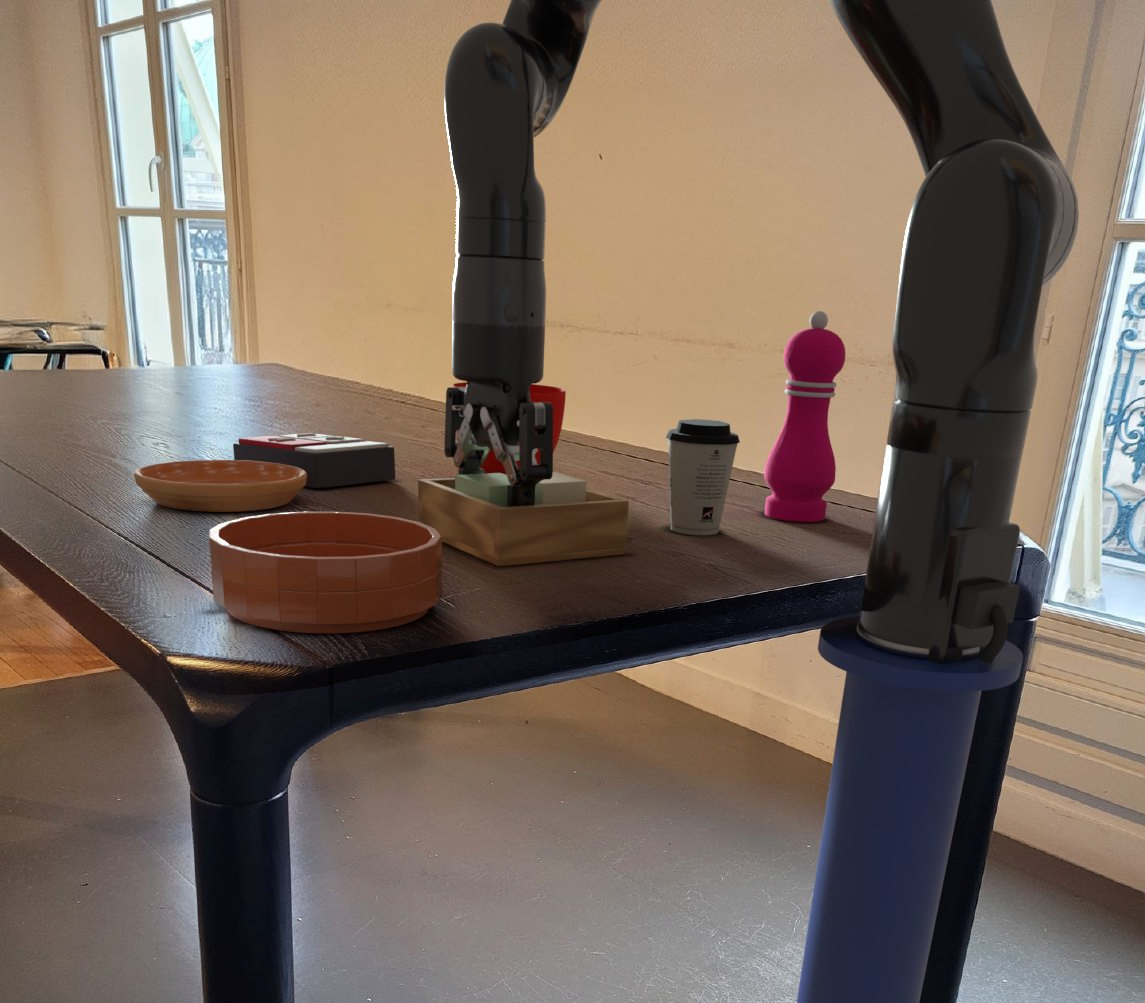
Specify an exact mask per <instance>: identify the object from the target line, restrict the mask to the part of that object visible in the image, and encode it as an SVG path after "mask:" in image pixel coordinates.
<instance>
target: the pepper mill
mask: <svg viewBox="0 0 1145 1003" xmlns="http://www.w3.org/2000/svg"><path fill="white" fill-rule="evenodd" d="M828 323H829V318H828V315H827V314H826V313H825V312H824V311H821V310H818V311H815V312H813V313H812V314H811V315H810V317H809V325H810V327H809V328H805V329H801V330H800V331H797V332H795V333H794V334H793V335H792V336H791V337H790V338H789V339H788V341H787V343H786V345H785V348H784V351H783V365H784V368H785V369H786V371H787V373H788V374H789V378H788V379H786V380H785V384H786V386H785V390H784V394H786V395H787V408H786V414H785V419H784V422H783V425H782V428H781V431H780V432H779V434H778V436H777V438H776V440H775V442H774V444H773V447H772V448H771V450H770V451H769V454H768V457H767V459H766V462H765V468H764V472H763V473H764V474H763V475H764V476H763V477H764V481H765V483H766V485H767V486H768V487H769V489H770V491H771V493H772V494H771V495H768V496H767V497H766V498H765V506H764V515H765V516H766V517H768V518H770V519H774V520H778V521H784V522H785V521H786V522H792V523H818V522H822V521H824V520H825V519H826V515H827V514H826V513H827V507H828V502H827V501H826V500H825V499H823V497H824V495H826V493H827V492H828V491H829V490H831V488H832V487H833V486H834V484H835V482H836V472H837V470H836V469H837V467H836V458H835V454H834V451H833V446H832V443H831V439H830V432H829V424H828V423H829V409H830V404H831V399H832V398H834V397H835V396H836V393H835V389H836V387H837V383H836V382H835V381H834V379H835V377H836V376H838V374H839V373H840V372H841V371H842V370H843V368H844V367H845V366H844V365H845V362H846V346H845V344H844V341H843V339H842V338H841V337H840V336H839V335H838V334H836V332H833V331H832V330H829V329H826V327H827V326H828Z"/></svg>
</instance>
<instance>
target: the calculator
mask: <svg viewBox="0 0 1145 1003" xmlns="http://www.w3.org/2000/svg"><path fill="white" fill-rule="evenodd" d="M232 450H233V460H245V461H259V462H270V463H278V464H284V465H290V466H294V467H297V468H300V469H302V470H304V471H305V472H306V473H307V480H306V485H305V486H304V487H306V488H310V489H325V488H335V487H344V486H353V485H361V484H370V483H379V482H387V481H394V480H396V460H395V459H396V458H395V447H394V446H392V445H391V446H390V445H389V443H388V442H378V441H370V440H369V441H368V440H367V441H365V439H364V438H359V437H349V436H344V435H339V436H338V435H336V436H335V435H332V434H331V435H329V434H323V433H315V432H307V433H294V434H279V435H277V436H276V435H265V436H252V437H240V438H238V442H235V443H233V444H232ZM304 487H303V488H304Z"/></svg>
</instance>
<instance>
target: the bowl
mask: <svg viewBox="0 0 1145 1003" xmlns="http://www.w3.org/2000/svg"><path fill="white" fill-rule="evenodd" d="M208 541H209V542H208V544H209V556H210V569H211V584H212V585H211V586H212V597H213V601H214V602H216V603H217V604H218V605H219V606H221V607H222V608H223V609H225V610H226V611H227V613H228V614H229V615H230V616H232V617H233V618H234V619H236V620H238V621H240V622H242V623H246V624H248V625H251V626H255V627H259V628H263V629H267V630H268V629H269V630H275V631H280V632H281V631H282V632H290V633H300V634H301V633H303V634H327V635H328V634H329V635H330V634H351V633H364V632H373V631H380V630H387V629H390V628H395V627H399V626H403V625H406V624H409V623H412V622H415V621H417V620H419V619H421V618H422V617H424V616H425V615H426V614H427V613H428V612H429V610H430V609H431V608H432V607H434V606H436V605H437V603H438V602H439V600H440V599H441V597H442V564H443V563H442V561H443V560H442V559H443V558H442V555H443V554H442V552H443V551H442V548H443V547H442V545H443V544H442V543H443V542H442V537H441V535H440V534H439V533H438V531H437V530H436V529H434V528H432V527H430V526H427V525H425V524H423V523H420V522H418V521H416V520H411V519H407V518H403V517H399V516H398V517H397V516H390V515H383V514H375V513H368V512H367V513H366V512H352V511H351V512H348V511H291V512H289V511H288V512H273V513H265V514H258V515H251V516H244V517H240V518H236V519H232V520H229V521H224V522H221V523H220V524H217V525H216V526H214V527H212V528H211V529H209V535H208Z"/></svg>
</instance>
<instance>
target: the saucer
mask: <svg viewBox="0 0 1145 1003" xmlns="http://www.w3.org/2000/svg"><path fill="white" fill-rule="evenodd" d="M133 477H134V482H135V484H136V486H138V487H139V488H140V489H141V490H142V492H143V493H145V494H146V495H147V496H148V497H149V498H150V499H151V500H152V501H154V502H155V504H157V505H160V506H162V507H165V508H170V509H175V510H182V511H191V512H208V513H211V512H212V513H231V512H232V513H234V512H236V513H237V512H253V511H262V510H269V509H275V508H280V507H282V506H286V505H287V504H289V503H290V502H292V500H293V499H294V498H295V497H296V496H297V494H299V493H300V492H301V491H302V489H303V488H304V486H305V485H306V480H307V473H306V472H305V471H304V470H302V469H300V468H297V467H294V466H290V465H284V464H278V463H270V462H259V461H245V460H234V459H200V460H199V459H198V460H197V459H193V460H181V461H179V460H178V461H168V462H161V463H154V464H149V465H145V466H142V467H139V468H137V469H135V471H134V472H133Z"/></svg>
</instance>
